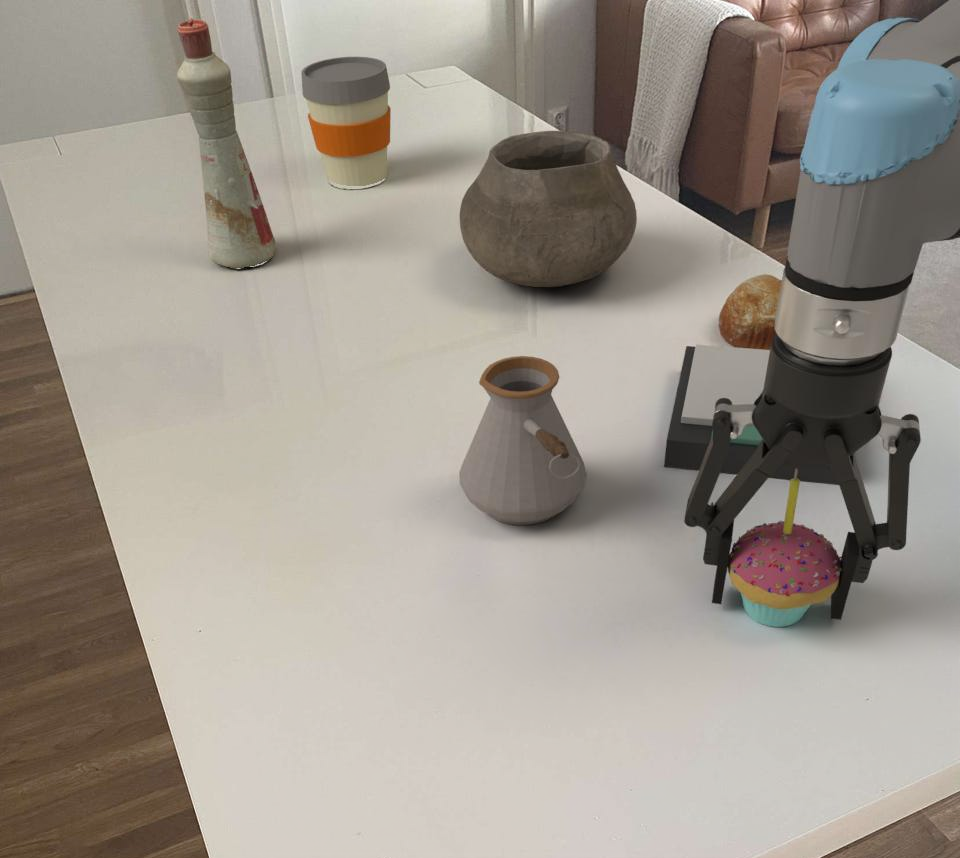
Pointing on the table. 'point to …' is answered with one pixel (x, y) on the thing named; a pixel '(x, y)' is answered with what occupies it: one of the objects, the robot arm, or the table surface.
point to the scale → (693, 411)
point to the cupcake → (783, 568)
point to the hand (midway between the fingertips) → (776, 599)
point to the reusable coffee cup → (349, 117)
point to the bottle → (222, 156)
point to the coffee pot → (522, 446)
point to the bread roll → (751, 313)
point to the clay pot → (548, 209)
